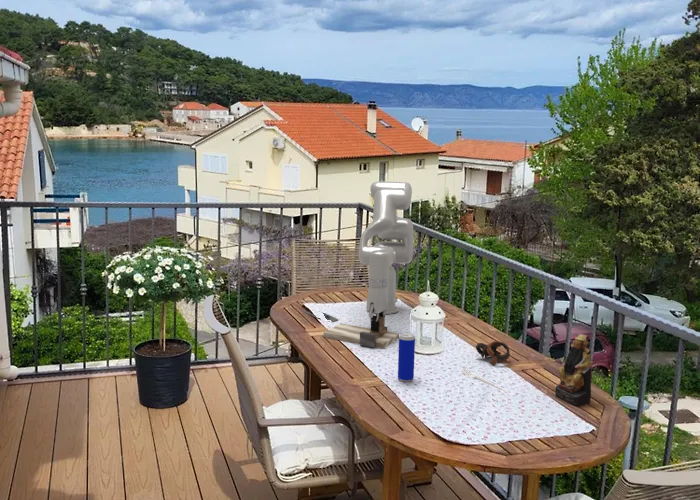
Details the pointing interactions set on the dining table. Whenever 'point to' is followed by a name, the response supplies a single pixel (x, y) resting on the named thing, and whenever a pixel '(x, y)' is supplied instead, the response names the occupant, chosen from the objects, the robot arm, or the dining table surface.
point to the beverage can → (406, 357)
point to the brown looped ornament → (493, 351)
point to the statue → (576, 374)
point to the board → (358, 335)
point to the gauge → (373, 334)
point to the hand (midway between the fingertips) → (377, 328)
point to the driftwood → (324, 315)
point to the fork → (480, 378)
